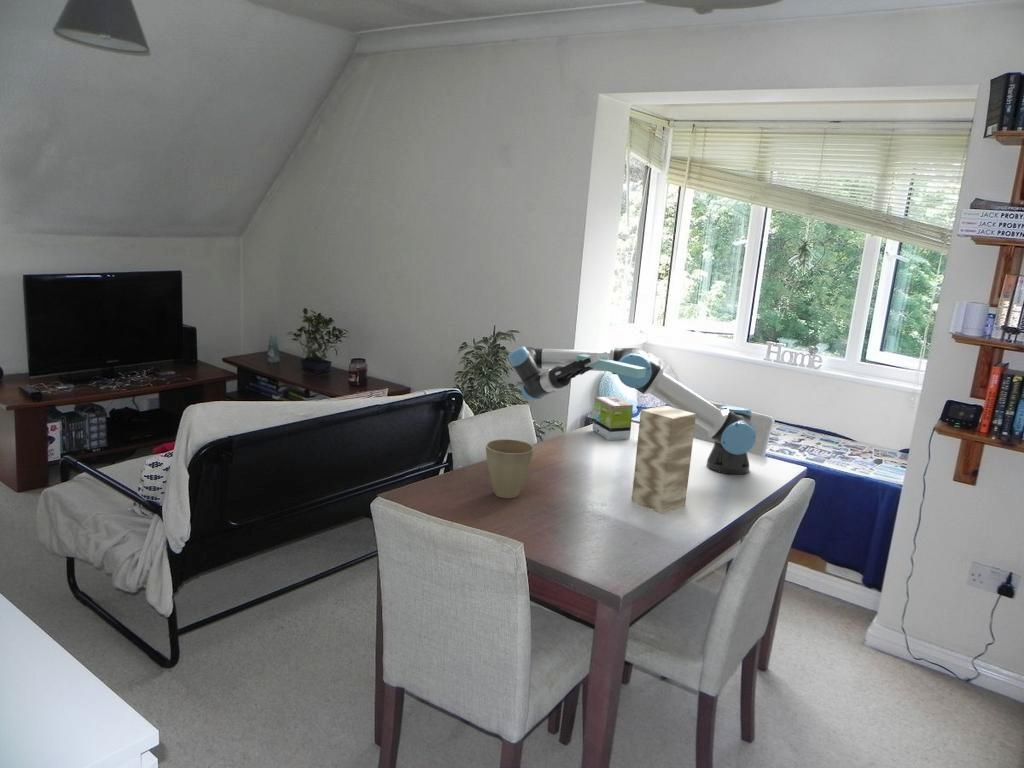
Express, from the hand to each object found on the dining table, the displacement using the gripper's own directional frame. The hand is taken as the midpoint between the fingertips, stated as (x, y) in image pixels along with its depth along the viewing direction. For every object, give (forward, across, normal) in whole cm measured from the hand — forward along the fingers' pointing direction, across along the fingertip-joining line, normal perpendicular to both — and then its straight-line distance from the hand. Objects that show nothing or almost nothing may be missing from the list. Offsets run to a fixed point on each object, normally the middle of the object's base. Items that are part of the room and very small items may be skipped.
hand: (602, 355), depth 258 cm
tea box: (-50, -50, -21) cm, 74 cm away
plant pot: (-26, +35, -35) cm, 56 cm away
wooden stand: (+3, 0, -51) cm, 51 cm away
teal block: (+1, 0, -5) cm, 5 cm away
